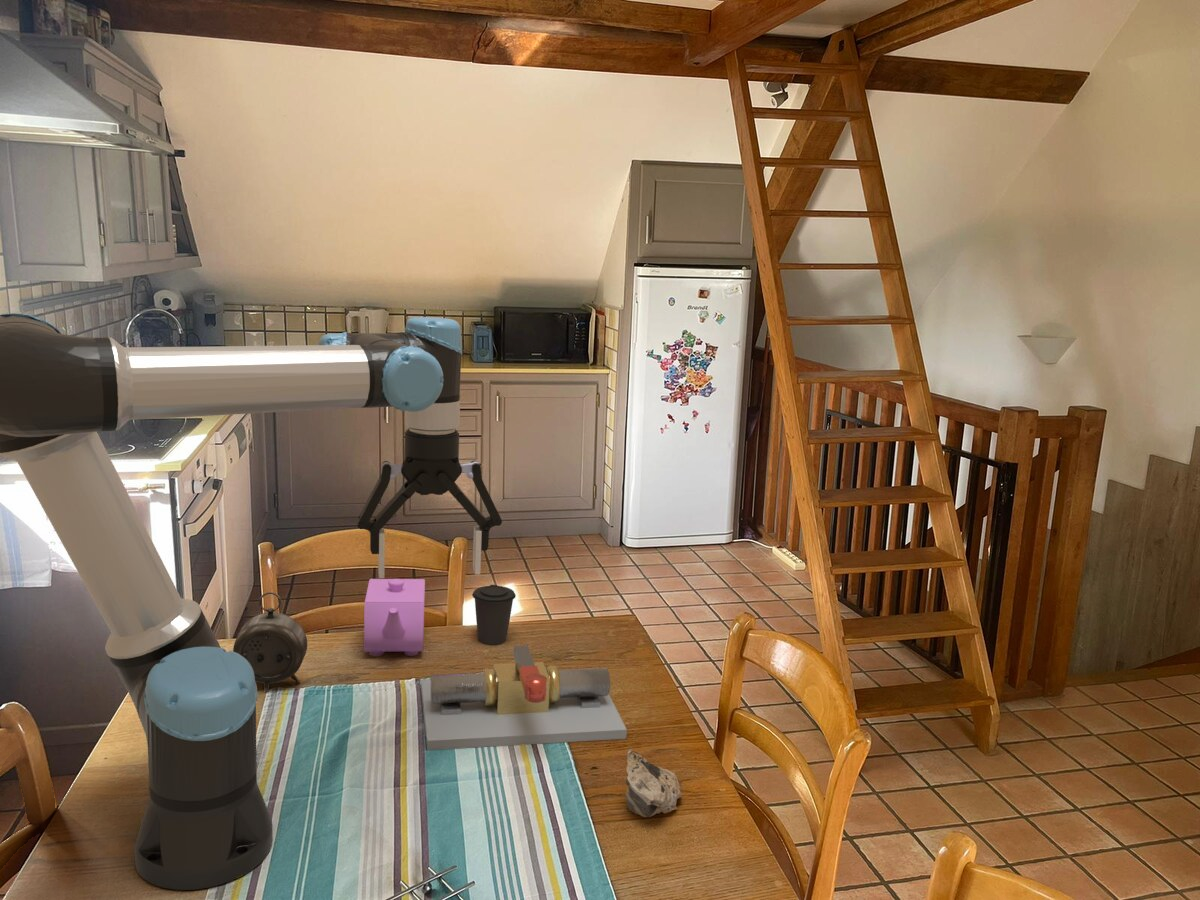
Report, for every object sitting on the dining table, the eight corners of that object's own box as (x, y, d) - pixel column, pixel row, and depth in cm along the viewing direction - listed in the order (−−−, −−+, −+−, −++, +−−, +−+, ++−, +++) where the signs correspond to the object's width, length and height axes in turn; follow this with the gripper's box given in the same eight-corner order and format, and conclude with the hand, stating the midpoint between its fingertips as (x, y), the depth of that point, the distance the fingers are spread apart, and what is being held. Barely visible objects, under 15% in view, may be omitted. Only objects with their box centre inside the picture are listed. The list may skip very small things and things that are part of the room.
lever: (510, 665, 152) (511, 637, 151) (529, 664, 153) (530, 636, 152) (525, 714, 136) (527, 683, 135) (546, 713, 137) (548, 682, 136)
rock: (623, 766, 135) (606, 752, 127) (671, 750, 135) (657, 735, 126) (640, 829, 131) (623, 819, 122) (690, 813, 130) (676, 802, 122)
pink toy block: (369, 627, 181) (370, 564, 179) (423, 627, 183) (425, 565, 180) (361, 674, 162) (362, 604, 159) (421, 673, 164) (423, 604, 161)
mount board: (626, 738, 146) (626, 729, 146) (427, 750, 139) (427, 740, 139) (597, 680, 165) (597, 672, 165) (420, 688, 158) (421, 679, 158)
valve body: (610, 708, 152) (612, 673, 151) (431, 717, 145) (432, 681, 144) (601, 690, 158) (603, 656, 157) (429, 698, 152) (430, 663, 150)
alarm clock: (307, 679, 159) (307, 587, 155) (301, 694, 153) (301, 599, 150) (239, 678, 157) (238, 585, 154) (230, 693, 152) (229, 597, 149)
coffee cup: (497, 627, 185) (500, 578, 183) (522, 642, 179) (524, 591, 177) (462, 636, 180) (463, 586, 178) (486, 651, 174) (488, 599, 172)
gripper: (515, 424, 141) (510, 561, 145) (339, 423, 134) (339, 567, 138) (525, 434, 133) (519, 578, 138) (340, 434, 127) (340, 585, 131)
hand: (429, 573), depth 138 cm, fingers open, 13 cm apart
